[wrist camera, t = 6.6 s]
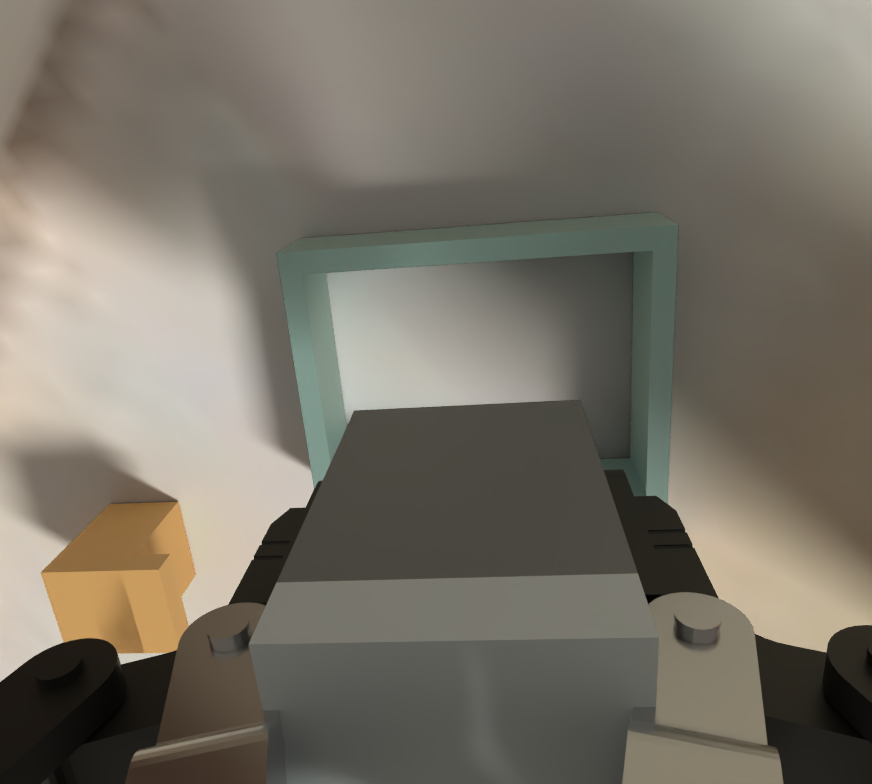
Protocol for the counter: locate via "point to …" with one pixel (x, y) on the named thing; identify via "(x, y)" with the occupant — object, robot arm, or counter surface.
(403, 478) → the block
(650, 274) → the tray
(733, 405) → the counter surface
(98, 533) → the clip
